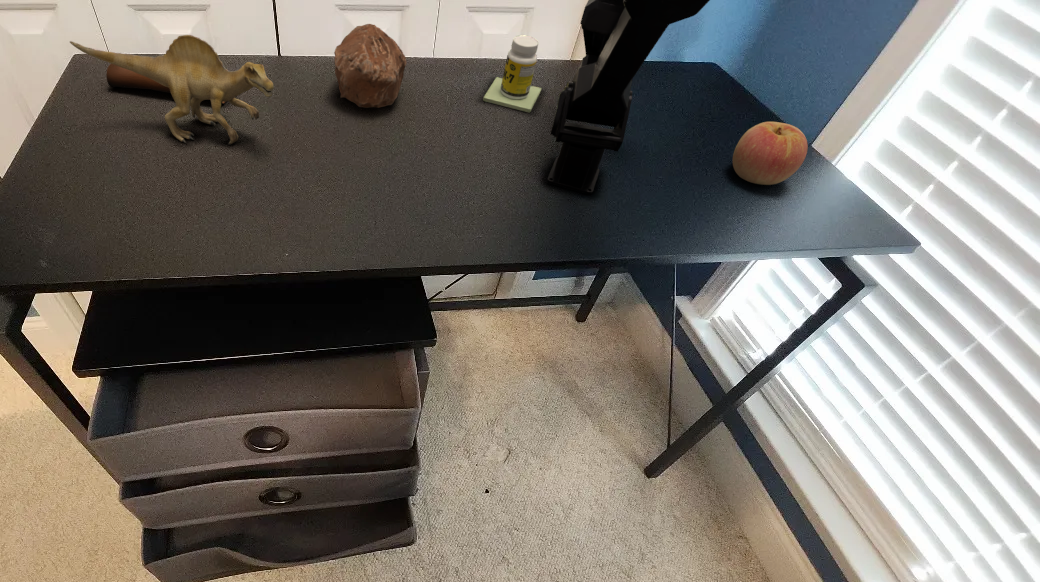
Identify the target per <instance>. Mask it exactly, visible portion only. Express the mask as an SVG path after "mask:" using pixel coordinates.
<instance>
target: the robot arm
mask: <svg viewBox="0 0 1040 582" xmlns="http://www.w3.org/2000/svg"><path fill="white" fill-rule="evenodd" d="M710 1H711V0H587V2H586V4H585V7H584V9H583V12H582V16H581V18H580V19H581V20H580V23H579V24H580V25H581V30H582V34H583V42H584V50H585V51H584V53H585V56H584V57H583V58H582V59H581V62H580V65H579V66H578V68H577V69H576V72H575V74H574V76H573V78H572V80H571V81H567V82H566V84H565V86H564V88H563V89H562V90H561V91H560V92H559V94H558V99H557V104H556V107H555V108H556V109H555V113H554V118H553V123H552V126H551V129H550V135H552V136H553V137H554V138H555V143H561V147H560V150H559V153H558V156H557V157H556V158H555V159H554V162H553V164H552V167H551V169H550V171H549V174H548V177H547V178H546V182H547V184H550V185H553V186H558V187H560V188H565V189H567V190H571V191H575V192H579V193H582V194H585V195H592V194H593V192H594V189H595V186H596V182H597V180H598V176H599V174H600V168H599V166H600V163H601V161H602V158H603V156H604V153H605V150H609V151H613V152H617V153H618V152H619V150H620V149H621V146H622V145H623V143H624V140H625V139H624V138H625V135H626V129H627V124H628V119H629V116H630V115H629V114H630V110H631V105H632V100H633V90H632V85H633V79H634V77H635V76H636V75H637V73H638V72H639V70H640V69H641V67H642V66H643V64H644V62H645V61H646V60H647V58H648V57H649V55H650V54H651V52H652V51H653V49H654V48H655V47H656V45H657V44H658V42H659V40H660V39H661V37H662V36H663V34H664V33H665V31H666V30H667V28H669V26H670V25H672V24H675V23H677V22H678V23H679V22H680V21H684V20H687V19H689V18H692V17H695V16H696V15H698V14H699V13H700V12H701V10H702V9H704V7H705V6H707V4H708V3H709V2H710ZM566 120H567V121H572V122H567V121H566ZM573 121H574V122H575V123H574V122H573ZM576 122H580V123H584V124H580V123H576ZM586 124H587V125H586ZM588 124H592V125H588ZM593 125H597V126H593ZM598 125H599V126H605V127H610V128H604V127H599V126H598Z"/></svg>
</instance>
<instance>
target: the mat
mask: <svg viewBox="0 0 1040 582" xmlns="http://www.w3.org/2000/svg"><path fill="white" fill-rule="evenodd" d="M502 79H503V77H498V76H496V77H495V79H494V80H493V82H492V84H491V85H490V87H489V88H488V89H487V91H486V93H485V94H484V96H483V99H482V101H483V102H486V103H489V104H490V103H491V104H493V105H497V106H501V107H505V108H509V109H513V110H517V111H521V112H525V113H528V114H530V113H531V112H532V110H533V108H534V106H535V104H536V102H537V100H538V98H539V97H540V94H541V92H542V90H543V89H542V87H539V86H535V85H531V86H530V90H529V94H528V96H527V97H526V98H523V99H511V98H508V97H506V96H504V95H503V94H502V93H501V84H502Z"/></svg>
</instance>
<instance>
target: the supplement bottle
mask: <svg viewBox="0 0 1040 582" xmlns="http://www.w3.org/2000/svg"><path fill="white" fill-rule="evenodd" d="M510 46H511V47H510V48H511V49H510V50H509V51H508V52H507V55H506V60H505V64H504V65H505V66H504V70H503V75H502V84H501V93H502V94H503V95H504V96H506V97H508V98H511V99H523V98H526V97H527V96H528V94H529V90H530V86H532V82H533V79H534V73H535V70H536V66H537V62H538V54H537V51H538V47H539V40H538V39H536V38H535V37H533V36H530V35H524V34H522V35H521V34H520V35H515V36H514V37H513V39H512V42H511V45H510Z"/></svg>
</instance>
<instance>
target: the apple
mask: <svg viewBox="0 0 1040 582" xmlns="http://www.w3.org/2000/svg"><path fill="white" fill-rule="evenodd" d="M808 149H809V148H808V140H807V137H806V136H805V133H803V131H802V130H801V129H800V128H798V127H797V126H794V125H792V124H789V123H784V122H778V121H764V122H760V123H757V124H756V125H753V126H752V127H750V128H749V129H747V131H746V132H744V133H743V135H742V136H741V137H740V139H739V140H738V142H737V144H736V146H735V148H734V150H733V154H732V167H733V170H734V172H735V174H736V175H737V176H738V177H739V178H741V179H743V180H744V181H747V183H752V184H755V185H762V186H763V185H764V186H771V185H777V184H779V183H782V182H784V181H786V180H788V179H789V178H790V177H792V176H793V175H794V174H795V173H797V171H798V170H799V169H800V168H801V166H802V165H803V163H804V161H805V160H806V157H807V154H808Z"/></svg>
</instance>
